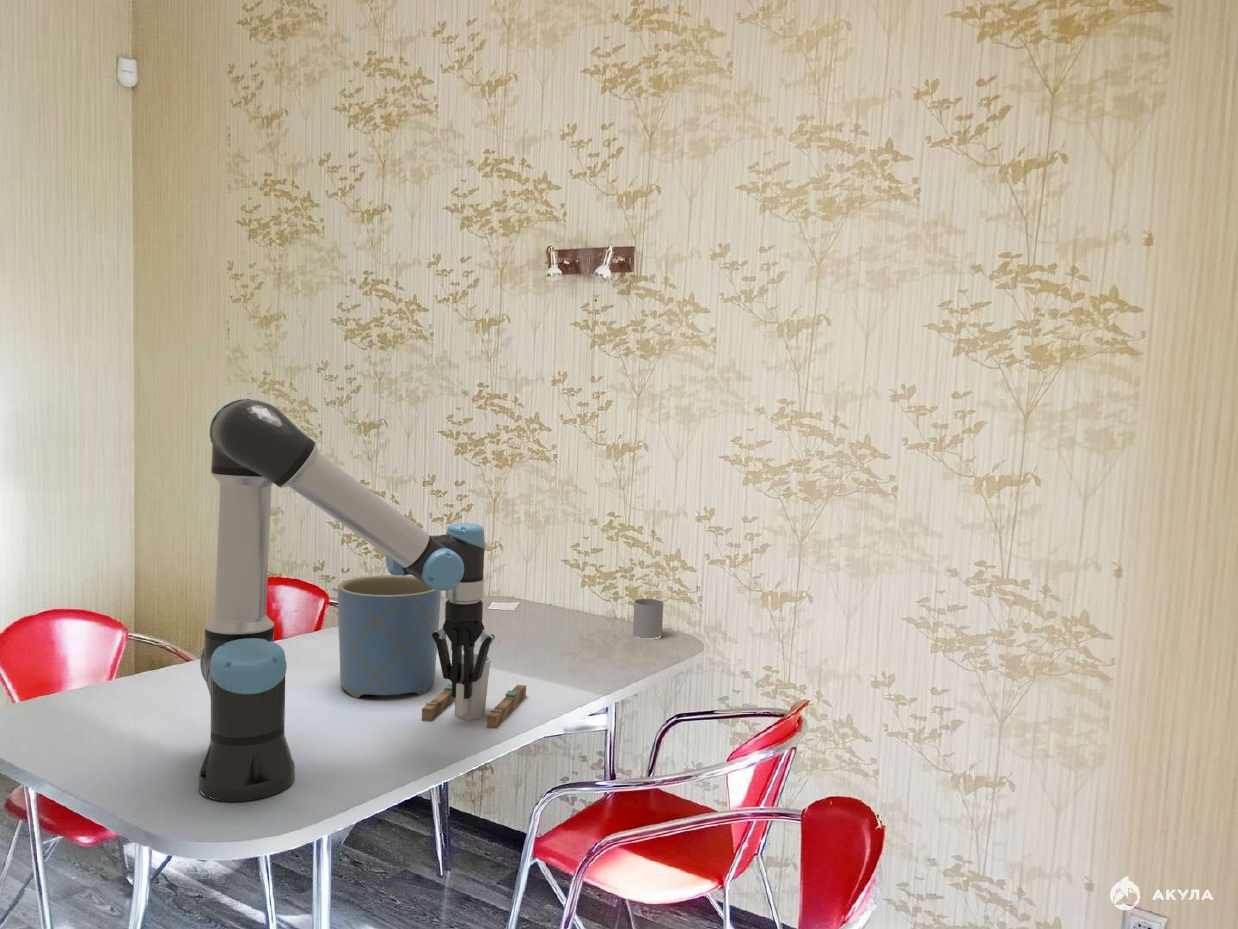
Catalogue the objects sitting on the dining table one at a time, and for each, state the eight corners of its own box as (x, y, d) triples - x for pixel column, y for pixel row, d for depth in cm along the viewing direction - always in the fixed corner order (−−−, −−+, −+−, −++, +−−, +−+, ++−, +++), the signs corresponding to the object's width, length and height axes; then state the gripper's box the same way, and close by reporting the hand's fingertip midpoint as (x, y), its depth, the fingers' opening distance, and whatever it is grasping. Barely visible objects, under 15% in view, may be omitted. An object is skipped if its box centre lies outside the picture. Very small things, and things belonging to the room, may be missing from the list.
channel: (496, 728, 185) (496, 713, 185) (421, 720, 188) (421, 705, 188) (526, 696, 206) (526, 682, 206) (458, 689, 209) (458, 676, 209)
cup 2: (629, 638, 260) (630, 603, 259) (637, 631, 268) (638, 597, 267) (658, 641, 257) (659, 606, 257) (665, 634, 265) (666, 600, 265)
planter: (334, 705, 195) (336, 596, 194) (337, 673, 217) (339, 575, 216) (442, 699, 202) (445, 594, 200) (434, 669, 223) (437, 574, 222)
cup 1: (479, 723, 188) (481, 666, 187) (444, 718, 190) (445, 661, 189) (495, 711, 196) (496, 655, 195) (460, 706, 198) (462, 651, 197)
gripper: (500, 598, 188) (497, 710, 190) (441, 593, 191) (438, 704, 193) (488, 606, 181) (485, 723, 183) (426, 601, 184) (424, 716, 185)
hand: (461, 713), depth 188 cm, fingers closed
